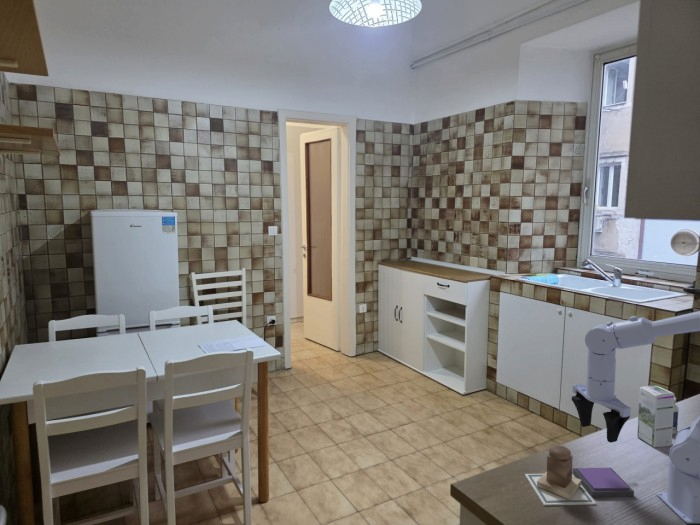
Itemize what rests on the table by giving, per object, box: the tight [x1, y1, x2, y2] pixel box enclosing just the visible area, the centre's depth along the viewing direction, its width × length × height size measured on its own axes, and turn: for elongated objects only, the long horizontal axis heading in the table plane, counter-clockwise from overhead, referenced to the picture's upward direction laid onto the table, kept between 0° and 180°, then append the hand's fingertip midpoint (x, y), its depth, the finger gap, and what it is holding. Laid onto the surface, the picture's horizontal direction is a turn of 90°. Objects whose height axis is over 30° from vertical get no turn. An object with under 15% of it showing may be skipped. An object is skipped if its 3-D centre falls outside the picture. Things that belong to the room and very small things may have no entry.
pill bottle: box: [672, 396, 679, 435], centre depth 127 cm, size 5×5×10 cm
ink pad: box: [572, 467, 635, 498], centre depth 104 cm, size 9×9×2 cm
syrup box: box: [636, 384, 675, 448], centre depth 120 cm, size 6×6×14 cm
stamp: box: [537, 445, 582, 500], centre depth 102 cm, size 7×7×9 cm
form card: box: [524, 473, 597, 506], centre depth 102 cm, size 11×11×1 cm
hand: (598, 433), depth 106 cm, fingers open, 7 cm apart
